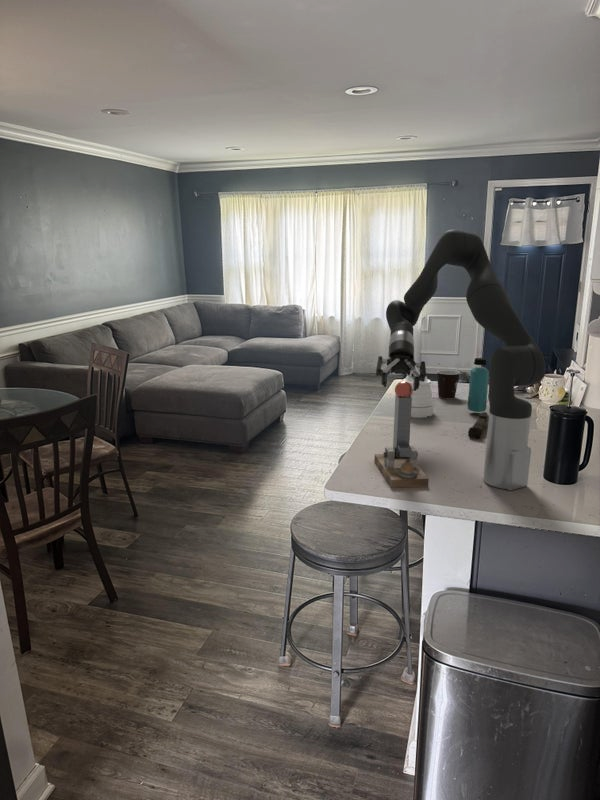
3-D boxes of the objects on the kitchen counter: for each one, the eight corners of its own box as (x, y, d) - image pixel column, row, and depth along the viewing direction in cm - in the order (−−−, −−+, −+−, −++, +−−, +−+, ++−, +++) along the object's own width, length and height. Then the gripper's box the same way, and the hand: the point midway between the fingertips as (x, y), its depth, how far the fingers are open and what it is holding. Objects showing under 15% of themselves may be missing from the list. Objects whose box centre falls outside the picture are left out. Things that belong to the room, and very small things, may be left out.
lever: (389, 456, 138) (393, 379, 133) (406, 455, 138) (410, 379, 134) (396, 465, 132) (400, 385, 127) (413, 464, 132) (418, 384, 127)
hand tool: (480, 440, 164) (482, 426, 162) (467, 438, 166) (468, 424, 164) (493, 425, 180) (494, 412, 178) (480, 423, 181) (482, 410, 180)
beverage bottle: (489, 415, 191) (495, 359, 186) (474, 417, 188) (479, 360, 184) (477, 410, 197) (482, 356, 192) (462, 412, 194) (466, 357, 190)
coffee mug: (445, 393, 223) (447, 369, 221) (462, 397, 216) (464, 373, 214) (425, 397, 217) (427, 372, 215) (442, 401, 210) (444, 376, 208)
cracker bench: (374, 461, 145) (375, 438, 144) (407, 460, 146) (408, 437, 144) (390, 487, 128) (392, 461, 126) (428, 486, 129) (429, 460, 127)
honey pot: (424, 419, 185) (427, 367, 181) (390, 413, 192) (392, 363, 188) (438, 411, 196) (441, 362, 191) (405, 406, 203) (408, 358, 198)
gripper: (379, 336, 162) (376, 374, 151) (427, 341, 161) (428, 381, 150) (376, 354, 168) (373, 392, 157) (422, 360, 167) (422, 398, 156)
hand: (400, 387), depth 154 cm, fingers open, 8 cm apart
